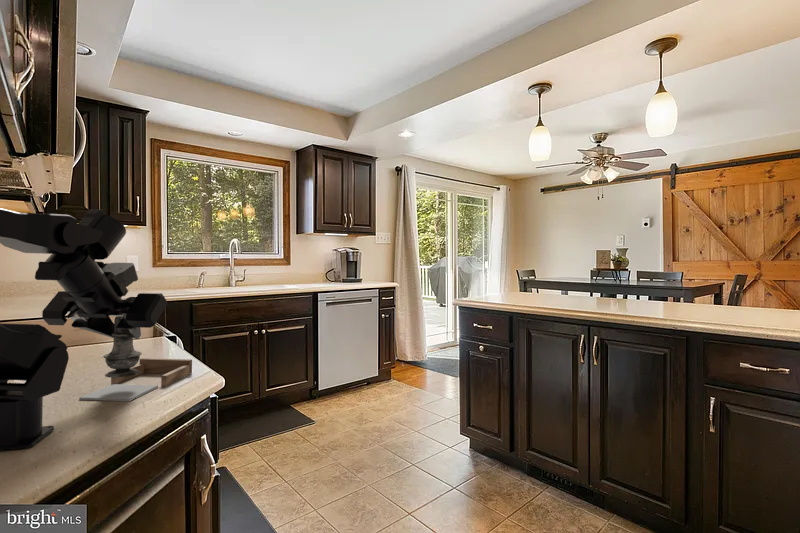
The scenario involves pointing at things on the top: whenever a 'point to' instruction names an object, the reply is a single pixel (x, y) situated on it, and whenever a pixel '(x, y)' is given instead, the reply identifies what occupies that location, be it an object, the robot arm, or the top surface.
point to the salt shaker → (122, 354)
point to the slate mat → (119, 392)
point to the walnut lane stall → (161, 369)
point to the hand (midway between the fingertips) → (128, 336)
